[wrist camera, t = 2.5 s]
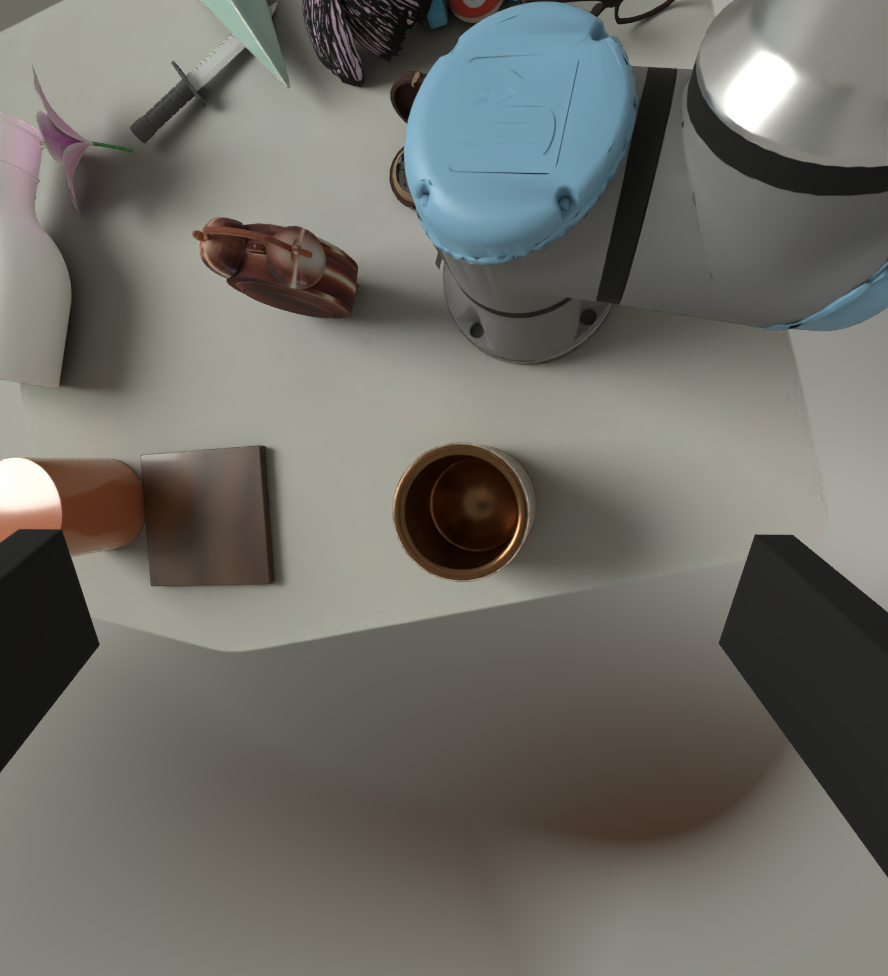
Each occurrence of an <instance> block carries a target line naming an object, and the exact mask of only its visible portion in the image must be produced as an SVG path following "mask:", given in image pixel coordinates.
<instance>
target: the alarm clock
mask: <svg viewBox="0 0 888 976" xmlns="http://www.w3.org/2000/svg"><path fill="white" fill-rule="evenodd" d="M193 237H194V238H195V239H197V240H199V252H200V256H201V259H202V260H203V262H204V263H205V265H206V266H207V267H208V268H209V269H211V270H212V271H213V272H215V273H216V274H218V275H220V276H222V277H224V278H227V283H228V284H229V285H230V286H231V287H233V288H234V289H236V290H238V291H240V292H242V293H244V294H246V295H247V296H249V297H251V298H253V299H255V300H257V301H259V302H261V303H264V304H267V305H269V306H272V307H275V308H278V309H282V310H285V311H289V312H293V313H297V314H301V315H306V316H312V317H319V318H346V319H348V318H349V317H350V316H349V315H350V311H351V307H352V304H353V301H354V298H355V293H356V289H357V290H358V289H360V285H359V284H357V274H358V266H357V264H356V262H355V261H354V260H353V259H352V258H351V257H349V256H348V255H347V254H346V253H345V252H344V251H342V250H341V249H339V248H338V247H336V246H334V245H333V244H331V243H329V242H327V241H324V240H322V239H320V238H318V237H316V236H315V235H314V234H313V233H311V232H310V231H308V230H307V229H304V228H302V227H298V226H288V227H282V226H277V225H272V224H259V223H257V224H249V225H243V224H242V223H241V222H239V221H236V220H234V219H230V218H225V217H217V218H214V219H212V220H211V221H209V222H208V223H207V224H206V225H205V226H204V228H203V230H202V232H200V231H198V230H197V231H193Z"/></svg>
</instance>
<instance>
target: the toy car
mask: <svg viewBox="0 0 888 976" xmlns="http://www.w3.org/2000/svg"><path fill="white" fill-rule="evenodd" d="M513 1H515V2H516V1H520V0H513ZM502 3H503V0H433V2H432V3H431V5H430V6H431V8H430V10H429V12H428V15H427V20H428V23H429V25H430V27H431V28H437V27H440V26H443V25H446V24H447V22H448V10H447V7H448V8H450V10H451V11H452V12H453V13H454V15H455V16H457V17H458V18H459V19H461V20H462V21H465V22H468V23H478V22H480V21H481V20H483V19H485V18H487V17H488V16H490V15H493V14H494V13H495V12H496V11H497V10H498V9H499V8H500V6H501V4H502Z"/></svg>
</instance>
